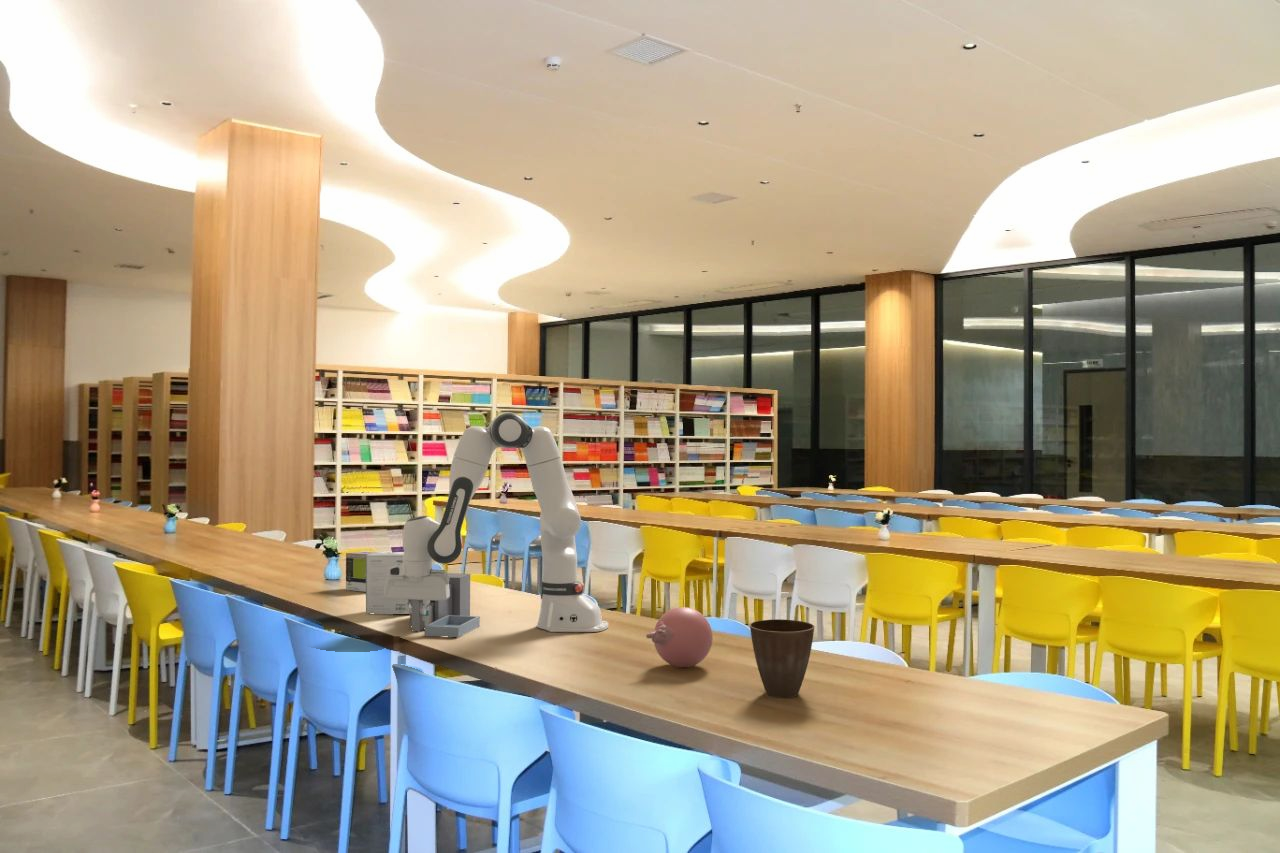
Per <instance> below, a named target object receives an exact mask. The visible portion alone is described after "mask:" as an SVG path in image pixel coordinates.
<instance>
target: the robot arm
mask: <svg viewBox="0 0 1280 853" xmlns="http://www.w3.org/2000/svg"><path fill="white" fill-rule="evenodd" d="M498 448H504V449H519V450H521V452H522V454H523V456H524V460H525V464H526V468H527V471H528V475H529V478H530V482H531V485H532V489H533V492H534V494H535V496H536V499H537V503H538V504H539V505H538V506H539V508H540V515H539V530H540V543H541V546H540V547H541V555H542V556H541V558H542V560H541V562H542V563H541V564H542V565H541V566H542V567H541V568H542V572H541V574H542V575H541V577H542V578H541V579H542V580H541V581H540V588H539V590H540V594H539V595H540V599H541V601H540V602H541V603H540V609H539V610H540V611H539V616H538V621H537V623H536V627H537V628H538V629H541V630H545V631H547V632H551V633H555V632H556V633H560V632H561V633H569V632H570V633H581V632H582V633H583V632H584V633H592V632H594V633H596V632H597V633H598V632H601V631H605V630H606V629H607V628H609V622H608V621H606V620H603V619H602V618H603V617H602V611H601V608H600V606H599V605H598V604H597V603H596V602H594V601H593V600H592V599H591V598H590V597H588V596H587V595H586V594H584V587H585V583H583V582H582V583H581V582H580V581H579V580H578V553H577V546H576V545H577V544H576V535H577V534H578V532H579V531H580V528H581V527H582V518H581V514H580V512H579V509H578V505H577V502H576V500H575V496H574V494H573V491H572V489H571V487H570V483H569V481H568V478H567V474H566V470H565V467H564V464H563V460H562V457H561V452H560V449H559V447H558V444H557V442H556V439H555V437H554V435H553V433H552V431H551V430H550V428H548V427H547V426H540V425H539V426H537V425H536V426H531V425H529V423H528V422H527V421H525V419H523V417H521V416H520V415H518V414H516V413H513V412H502V413H500V414H498V415H497V416H495V417H494V419H493V420H491V421H490V423H489V424H487V425H486V426H485V427H484V426H478V425H472V426H469V427H467V428H465V429H464V431H463V432H462V434H461V437H460V438H459V441H458V443H457V446H456V448H455V451H454V453H453V458H452V461H451V464H450V471H449V472H450V473H449V481H448V482H449V485H448V486H449V491H448V498H447V501H446V505H445V508H444V512H443V514H442V518H441V522H438V521H436V520H435V519H433V518H431V517H430V516H429V515H428V516H427V515H421V516H415V517H412V518H408V519H407V521H406V522H405V523H404V526H403V530H402V531H403V532H402V549H403V553H404V556H403V563H402V564H399V565H397V566H394V567H391V568H389V569H387V574H388V575H390V576H388V577H387V578H386V580H385V587H384V595H385V597H386V598H387V599H404V603H405V605H406V607H407V609H408V614H409V615H410V614H412V606H411V604H410V602H411V600H423V604H424V606H423V608H421V609H420V615H425V614H426V608H427V607H428V605H429V603H430V600H436V601H445V600H447V599H448V598H449V597H450V589H449V574H448V573H449V572H447V571H446V570H444V569H433V561H435V562H436V563H438V564H443V565H445V564H451V563H453V562H455V561H456V560H457V559H458V558H459V556H460V555H461V553H462V547H463V535H462V534H461V532H462V527H463V523H464V520H465V518H466V517H465V516H466V513H467V510H468V506H469V504H470V503H471V501H472V499H473V497H474V495H475V494H476V492H477V491H478V490H479V488H480V486H481V485H482V482H483V480H484V478H485V476H486V474H487V471H488V467H489V464H490V461H491V458H492V455H493V454H494V451H495V450H497V449H498ZM444 573H447V574H444Z"/></svg>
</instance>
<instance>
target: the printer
mask: <svg viewBox="0 0 1280 853" xmlns="http://www.w3.org/2000/svg"><path fill="white" fill-rule="evenodd" d="M447 573H448V574H449V589H450V597H449V598H448V599H447V600H445V601H436V600H430V602H435V621H437V620H439V619H441V618H443V617H445V616H447V615H454V616H471V573H453V572H447ZM447 573H444V574H447ZM422 602H423V600H422ZM410 604H411V606H412V600H411V602H410ZM410 626H412V614H409V627H410Z"/></svg>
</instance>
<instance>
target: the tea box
mask: <svg viewBox="0 0 1280 853" xmlns="http://www.w3.org/2000/svg"><path fill="white" fill-rule="evenodd" d="M373 553H390V552H389V551H388V552H387V551H386V552H384V551H372V550H360V551H352V552H351V551H350V552H345V590H347V591H353V592H354V591H356V592H363V593H364V592H365V593H366V555H369V554H373Z"/></svg>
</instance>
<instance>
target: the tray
mask: <svg viewBox="0 0 1280 853" xmlns="http://www.w3.org/2000/svg"><path fill="white" fill-rule="evenodd" d="M480 618H481V617H480V615H479V616H478V615H477V616H476V615H475V616H474V615H470V616H454V615H447V616H445V617H443V618H441V619H439V620H437V621H435V622H432V623H430V624H428V625H426V626H425V629H424V637H425V636H448V637H459V638H461V637H463V636H464V635H463V634H465V633H467V632H468V633H470V632H472V631H474V630H475V628H476V629H477V627H478V626H479V627H480V626H481V624H480V623H481V619H480ZM479 627H478V628H479ZM473 629H474V630H473ZM471 630H472V631H471ZM469 631H470V632H469ZM468 633H467V634H468ZM462 635H463V636H462ZM465 635H466V634H465ZM460 636H461V637H460Z"/></svg>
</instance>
